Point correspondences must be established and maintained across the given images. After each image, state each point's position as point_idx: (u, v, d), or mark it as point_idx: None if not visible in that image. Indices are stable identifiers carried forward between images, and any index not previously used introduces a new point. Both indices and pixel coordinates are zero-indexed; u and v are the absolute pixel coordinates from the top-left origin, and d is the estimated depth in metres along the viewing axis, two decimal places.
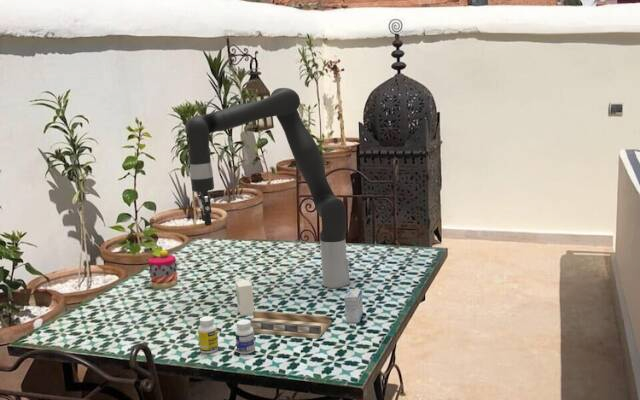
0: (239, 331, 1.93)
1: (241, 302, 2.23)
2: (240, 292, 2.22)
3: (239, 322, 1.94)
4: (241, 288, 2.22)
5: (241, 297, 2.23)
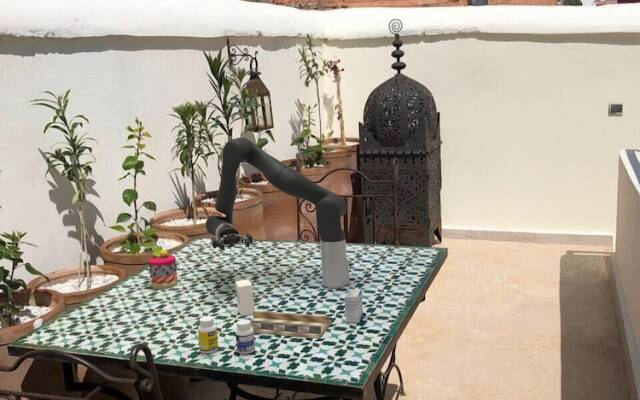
0: (239, 331, 1.93)
1: (241, 302, 2.23)
2: (240, 292, 2.22)
3: (239, 322, 1.94)
4: (241, 288, 2.22)
5: (241, 297, 2.23)
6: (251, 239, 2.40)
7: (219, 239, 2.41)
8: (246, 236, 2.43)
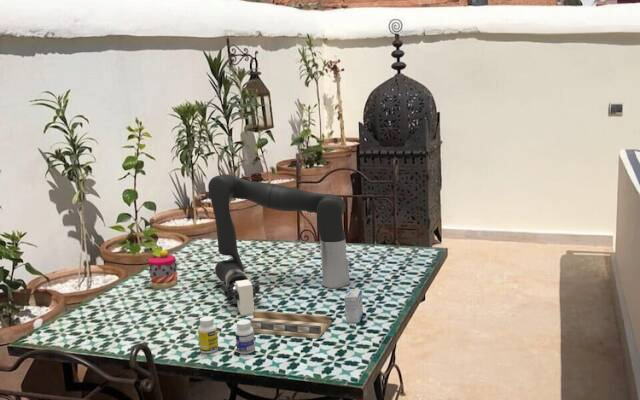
0: (239, 331, 1.93)
1: (241, 302, 2.23)
2: (240, 292, 2.22)
3: (239, 322, 1.94)
4: (241, 288, 2.22)
5: (241, 297, 2.23)
6: (256, 289, 2.30)
7: (229, 287, 2.32)
8: None
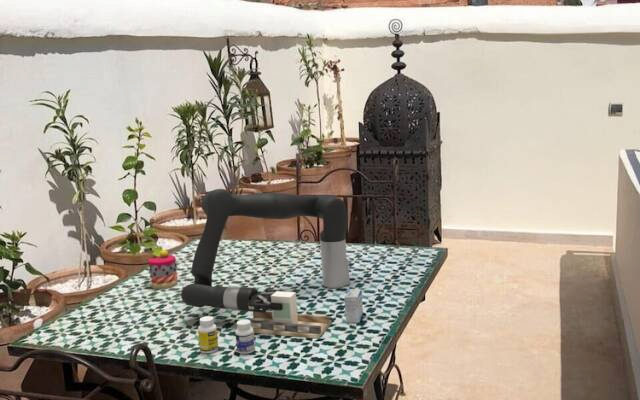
0: (239, 331, 1.93)
1: (292, 313, 2.07)
2: (291, 302, 2.07)
3: (239, 322, 1.94)
4: (291, 298, 2.07)
5: (291, 308, 2.07)
6: None
7: (255, 303, 2.08)
8: None
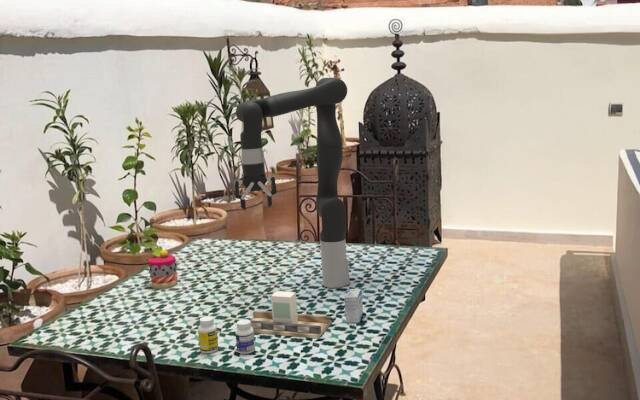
0: (239, 331, 1.93)
1: (292, 313, 2.07)
2: (291, 302, 2.07)
3: (239, 322, 1.94)
4: (291, 298, 2.07)
5: (291, 308, 2.07)
6: None
7: (243, 184, 2.27)
8: None
